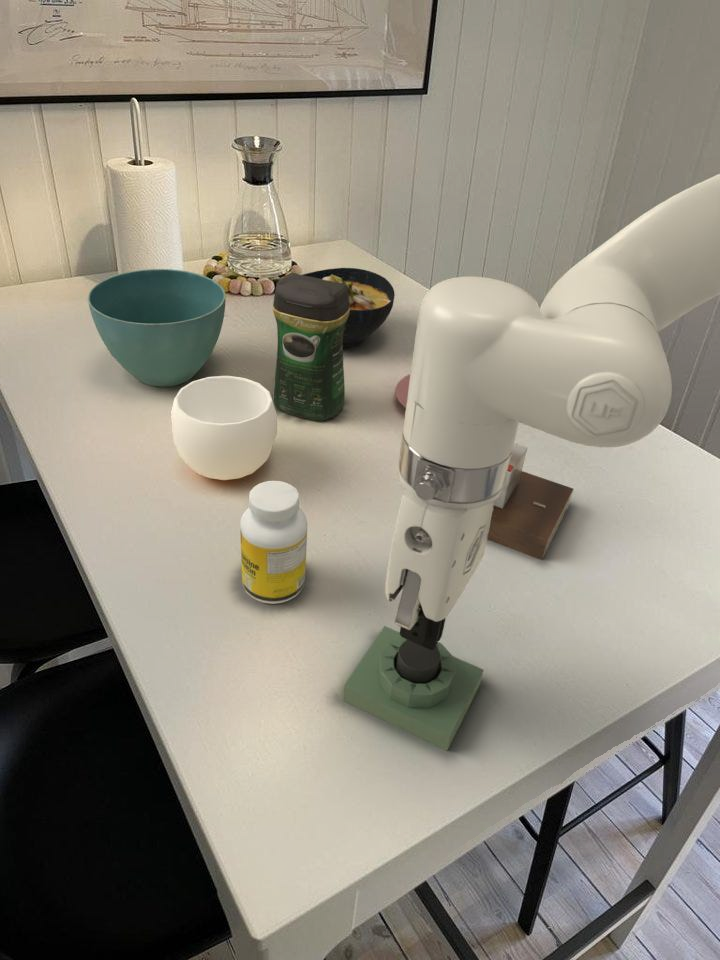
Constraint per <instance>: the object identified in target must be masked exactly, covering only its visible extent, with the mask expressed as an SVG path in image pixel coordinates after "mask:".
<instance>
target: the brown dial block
mask: <svg viewBox="0 0 720 960" xmlns="http://www.w3.org/2000/svg"><path fill="white" fill-rule="evenodd" d="M573 493H574V488H573V487H570V486H567V485H564V484H561V483H558V482H555V481H553V480H550V479H547V478H545V477H544V478H543V477H540V476H538V475H534V474H532V473H529V472H527V471H523V470H522V472H521V476H520V480H519V483H518V485H517V486H516V488H515V489H514V491H513V493H512V494H511V496H510V497H509V499H508V501H507V502H506V504H505V505H504V507H503V508H499V507H497V506H493V511H492V517H491V522H490V528H489V533H488V538H487V541H491V542H492V543H495V544H498V545H500V546H503V547H506V548H509V549H511V550H514V551H517V552H518V553H519V552H520V553H521V554H524V555H527V556H530V557H533V558H535V559H538V560H540V561H542V560H543V559H544V557H545V555H546V552H547V551H548V549H549V547H550V545H551V543H552V541H553V538H554V536H555V535H556V532H557V531H558V529H559V527H560V525H561V522H562V521H563V519H564V517H565V514H566V512H567V511H568V508H569V505H570V502H571V499H572V495H573Z"/></svg>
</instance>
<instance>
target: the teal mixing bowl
mask: <svg viewBox="0 0 720 960" xmlns="http://www.w3.org/2000/svg"><path fill="white" fill-rule="evenodd" d="M226 295H227V294H226V291H225V288H224V287H223V286H222V285H221V284H219V282H217V281H216V280H214V279H212V278H209V277H208V276H205V275H203V274H200V273H196V272H194V271H193V272H192V271H187V270H181V269H172V268H150V269H149V268H148V269H137V270H131V271H126V272H123V273H118V274H115V275H112V276H110V277H107V278H105V279H103V280H101V281H99V282H98V283H96V284H95V285H94V286H93V287H92V288H91V289H90V291H89V292H88V295H87V302H88V306H89V307H88V308H89V312H90V315H91V318H92V320H93V323H94V326H95V329H96V330H97V333H98V335H99V337H100V339H101V341H102V342H103V344H104V345H105V347H106V349H107V350H108V351H109V353H110V354H111V356H112V357H113V359H115V361H116V362H117V364H119V365H120V366H121V367H122V368H123V369H124V370H126V371H127V372H128V373H129V374H130V375H131V376H133V377H134V378H135V379H136V380H137V381H138V382H141V383H143V384H144V385H147V386H152V387H159V388H167V387H175V386H178V385H182V384H184V383H186V382H188V381H190V380H191V379H192V378H193V377H194V376H196V374H197V373H198V372H199V371H200V370H201V369H202V368H203V366H204V365H205V363H207V361H208V359H209V358H210V356H211V355H212V353H213V351H214V349H215V347H216V345H217V343H218V340H219V337H220V334H221V331H222V328H223V324H224V318H225V312H226V302H227V301H226V299H227V297H226Z"/></svg>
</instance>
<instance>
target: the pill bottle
mask: <svg viewBox="0 0 720 960" xmlns="http://www.w3.org/2000/svg"><path fill="white" fill-rule="evenodd" d="M239 525H240V526H239V527H240V528H239V530H240V531H239V532H240V534H239V535H240V556H241V557H240V558H241V559H240V560H241V561H240V562H241V564H240V565H241V583H242V587H243V589H244V591H245V592H246V594H248V596H249V597H251V598H252V599H254V600H255V601H258V602H260V603H262V604H263V603H264V604H270V605H273V604H276V605H277V604H282V603H285V602H288V601H291V600H293V599H294V598H296V597H297V596H298V595H299V594H300V593H301V591H302V590H303V588H304V586H305V583H306V570H307V569H306V567H307V563H306V562H307V545H308V519H307V516H306V514H305V512H304V511H303V509H301V507H300V494H299V491H298V489H296V487H295V486H294V485H292V484H290V483H288V482H284V481H280V480H267V481H263V482H260V483H258V484H256V485H255V486H253V487H252V489H251V490H250V492H249V494H248V508H247V509H245V511H244V512H243V514H242V516H241V518H240V524H239Z"/></svg>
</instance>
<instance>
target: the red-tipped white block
mask: <svg viewBox="0 0 720 960" xmlns="http://www.w3.org/2000/svg"><path fill="white" fill-rule="evenodd" d="M527 451H528V447H527V446H524V445H521V444H518V443H515V442H514V445H513V449H512V453H511V457H510V461H509V466H508V470H507V474H506V478H505V483H504V487H503V490H502V493H501V494H500V496H499V497H498V498H497V499H496V500H494V506H497V507H499V508H503V507H504V505H505V504H506V502H507V501H508V499H509V497H510V496H511V494H512V493H513V491H514V489H515V488H516V486H517V485H518V483H519V480H520V476H521V472H522V471H523V468H524V463H525V460H526V456H527Z"/></svg>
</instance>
